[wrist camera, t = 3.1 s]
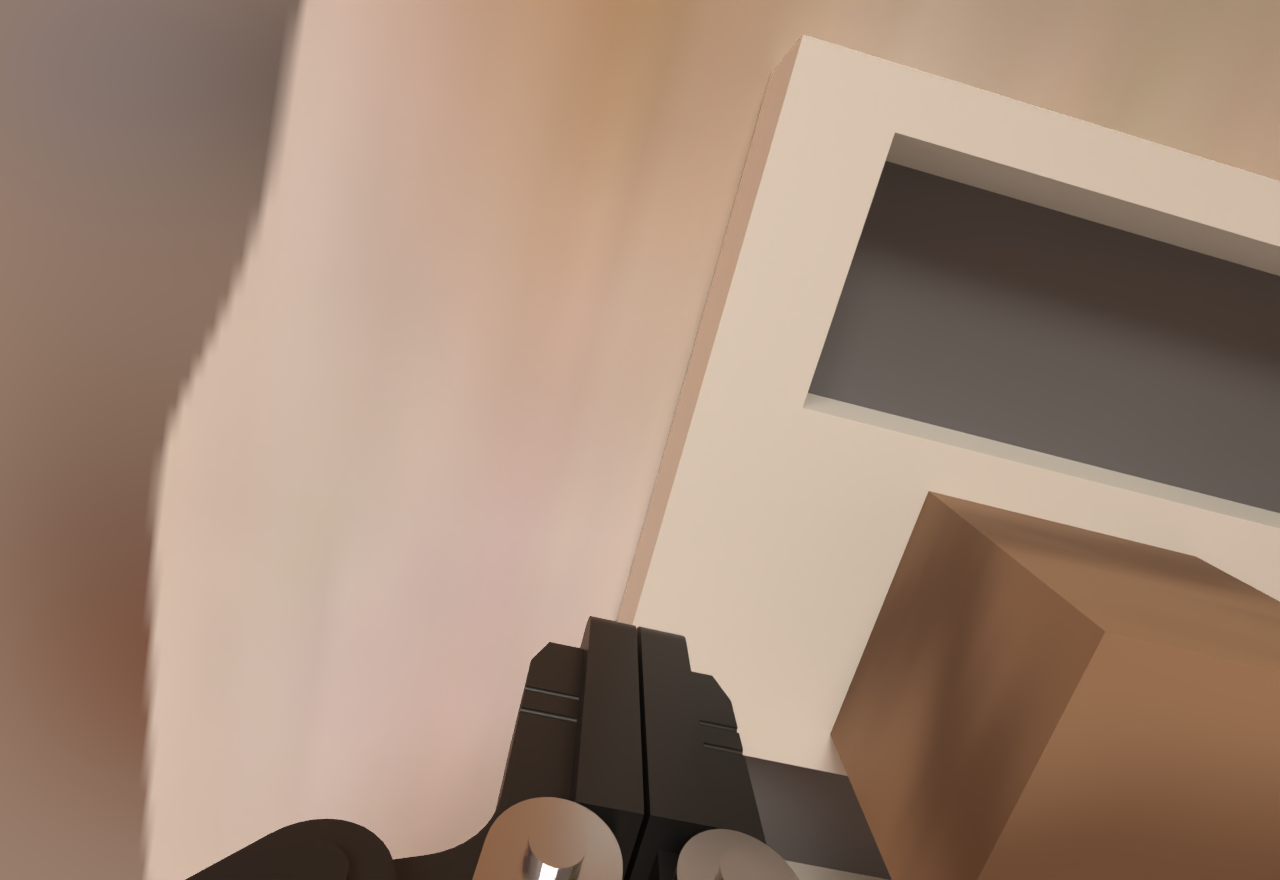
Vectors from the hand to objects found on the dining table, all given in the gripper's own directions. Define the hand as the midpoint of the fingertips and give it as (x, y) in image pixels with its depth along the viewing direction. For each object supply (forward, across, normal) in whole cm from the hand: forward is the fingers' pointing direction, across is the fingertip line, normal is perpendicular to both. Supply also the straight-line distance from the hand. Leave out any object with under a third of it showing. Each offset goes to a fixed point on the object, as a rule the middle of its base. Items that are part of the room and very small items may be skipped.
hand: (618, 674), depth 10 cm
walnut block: (+3, -9, 0) cm, 9 cm away
